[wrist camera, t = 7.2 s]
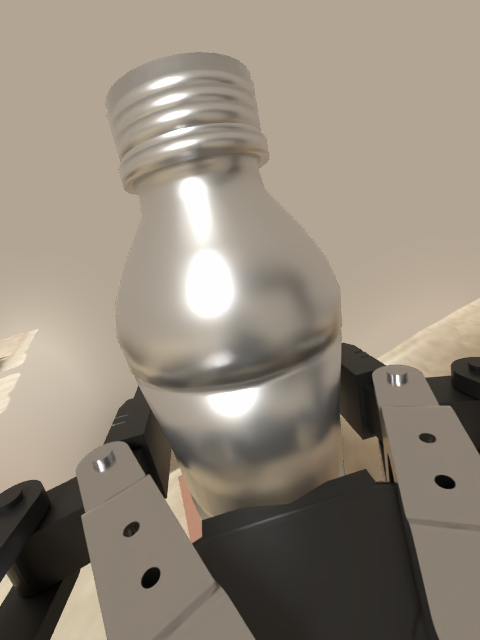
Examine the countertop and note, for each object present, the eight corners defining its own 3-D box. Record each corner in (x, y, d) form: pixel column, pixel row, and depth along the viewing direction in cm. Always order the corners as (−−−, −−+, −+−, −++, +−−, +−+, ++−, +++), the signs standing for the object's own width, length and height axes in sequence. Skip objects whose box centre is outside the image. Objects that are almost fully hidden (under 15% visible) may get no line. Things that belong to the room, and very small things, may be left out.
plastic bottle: (273, 826, 9) (-53, -32, 3) (211, 592, 15) (61, 157, 9) (430, 684, 11) (396, -10, 5) (318, 528, 17) (247, 135, 11)
